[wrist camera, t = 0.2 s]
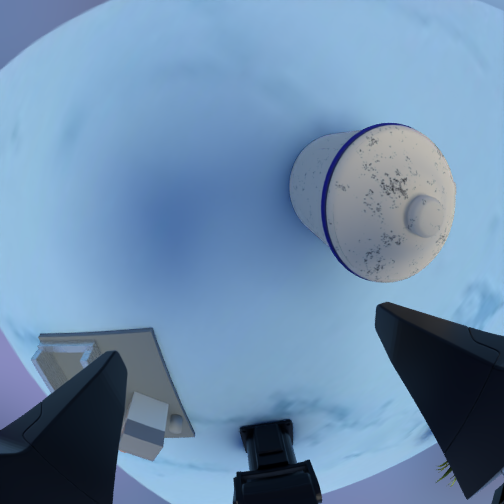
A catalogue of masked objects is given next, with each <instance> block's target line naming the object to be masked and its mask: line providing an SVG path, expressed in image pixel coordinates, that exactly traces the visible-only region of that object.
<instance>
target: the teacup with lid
mask: <svg viewBox="0 0 504 504" xmlns="http://www.w3.org/2000/svg"><path fill="white" fill-rule="evenodd" d="M289 191H290V198H291V202H292V205H293V208H294V210H295V212H296V214H297V216H298V217H299V219H300V220H301V222H302V223H303V224H304V225H305V226H306V227H307V228H308V229H309V230H311V231H312V232H313V233H314V234H315V235H316V236H317V237H318V238H320V239H321V240H322V241H323V242H324V243H325V244H326V245H327V246H328V247H330V249H331V251H332V252H333V254H334V256H335V257H336V258H337V260H338V261H339V262H340V263H341V264H342V265H343V266H344V267H345V268H346V269H347V270H348V271H350V272H351V273H353V274H354V275H356V276H358V277H360V278H363V279H365V280H369V281H374V282H381V283H389V282H396V281H400V280H404V279H406V278H409V277H411V276H413V275H415V274H416V273H418V272H420V271H421V270H422V269H424V268H425V267H426V266H427V265H428V264H429V263H430V262H431V261H432V260H433V259H434V258H435V257H436V256H437V254H438V253H439V251H440V250H441V248H442V247H443V245H444V243H445V241H446V239H447V237H448V235H449V232H450V229H451V226H452V222H453V218H454V212H455V195H456V184H455V182H454V181H453V177H452V174H451V171H450V168H449V165H448V163H447V161H446V159H445V157H444V156H443V154H442V153H441V151H440V150H439V148H438V147H437V146H436V145H435V144H434V143H433V142H432V141H431V140H430V139H429V138H428V137H426V136H425V135H424V134H422V133H421V132H419V131H417V130H415V129H413V128H411V127H409V126H406V125H402V124H397V123H381V124H376V125H373V126H370V127H367V128H365V129H363V130H358V131H350V132H343V133H335V134H329V135H325V136H322V137H320V138H318V139H316V140H314V141H313V142H311V143H310V144H309V145H307V146H306V147H305V148H304V149H303V151H302V152H301V153H300V154H299V156H298V157H297V159H296V161H295V163H294V165H293V168H292V171H291V175H290V183H289Z"/></svg>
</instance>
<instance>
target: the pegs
mask: <svg viewBox="0 0 504 504" xmlns="http://www.w3.org/2000/svg"><path fill="white" fill-rule="evenodd" d="M182 420H183V418H182V416H181V415H179V414H172V415H171V418H170V426H169V431H170V432H172V433H174V434H179V433H181V432H182ZM120 451H121V450H120ZM121 452H124V451H121ZM125 453H127V452H125Z"/></svg>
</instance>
